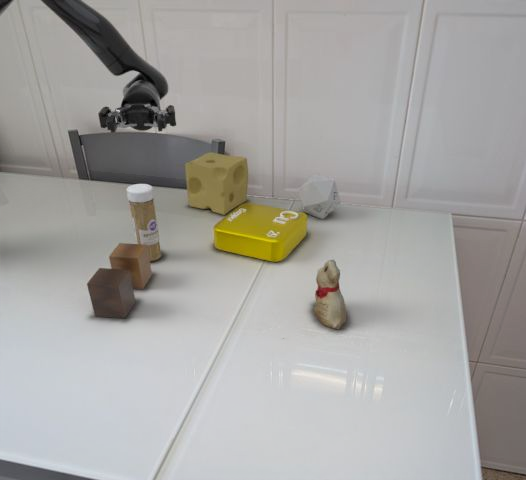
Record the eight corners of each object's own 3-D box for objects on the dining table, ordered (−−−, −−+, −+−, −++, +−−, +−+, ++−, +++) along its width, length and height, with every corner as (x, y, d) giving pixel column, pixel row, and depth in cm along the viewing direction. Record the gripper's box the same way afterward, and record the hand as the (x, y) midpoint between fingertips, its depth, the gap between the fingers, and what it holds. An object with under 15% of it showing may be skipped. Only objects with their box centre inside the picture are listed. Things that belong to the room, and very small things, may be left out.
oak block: (115, 287, 86) (108, 256, 82) (125, 273, 90) (119, 242, 86) (143, 289, 85) (137, 258, 82) (152, 275, 89) (147, 244, 85)
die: (302, 226, 107) (333, 193, 101) (283, 195, 109) (312, 160, 103) (325, 228, 113) (356, 197, 107) (306, 199, 116) (335, 166, 109)
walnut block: (94, 316, 79) (86, 283, 75) (106, 299, 83) (99, 267, 79) (125, 318, 78) (118, 286, 75) (135, 301, 82) (129, 269, 78)
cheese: (225, 216, 110) (222, 170, 103) (185, 206, 114) (181, 162, 108) (249, 200, 117) (248, 157, 111) (211, 192, 121) (208, 149, 115)
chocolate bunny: (349, 303, 82) (356, 248, 76) (343, 330, 76) (350, 273, 70) (316, 299, 83) (320, 244, 77) (307, 325, 77) (311, 268, 71)
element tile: (245, 220, 108) (244, 198, 105) (309, 232, 103) (310, 210, 100) (210, 248, 97) (209, 225, 94) (280, 264, 92) (281, 240, 89)
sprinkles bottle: (154, 264, 92) (143, 193, 84) (133, 260, 94) (120, 189, 85) (166, 253, 96) (157, 184, 87) (146, 249, 97) (135, 181, 89)
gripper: (102, 86, 100) (91, 104, 87) (174, 85, 101) (173, 102, 89) (109, 126, 104) (99, 148, 92) (177, 124, 106) (177, 146, 93)
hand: (136, 126), depth 90 cm, fingers open, 8 cm apart
